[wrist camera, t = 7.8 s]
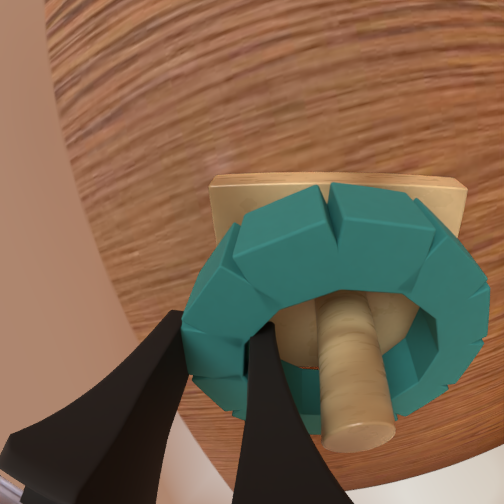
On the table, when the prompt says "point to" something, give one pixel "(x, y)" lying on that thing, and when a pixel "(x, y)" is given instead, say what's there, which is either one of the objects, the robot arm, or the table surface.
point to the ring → (333, 279)
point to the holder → (341, 304)
